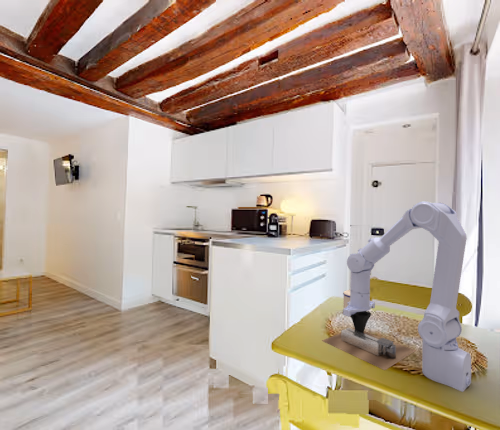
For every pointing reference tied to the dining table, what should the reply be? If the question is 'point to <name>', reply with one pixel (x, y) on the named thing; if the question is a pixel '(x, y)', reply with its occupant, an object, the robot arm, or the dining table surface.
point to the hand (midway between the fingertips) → (359, 334)
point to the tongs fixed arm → (365, 342)
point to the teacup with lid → (346, 297)
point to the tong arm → (386, 351)
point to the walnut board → (369, 357)
